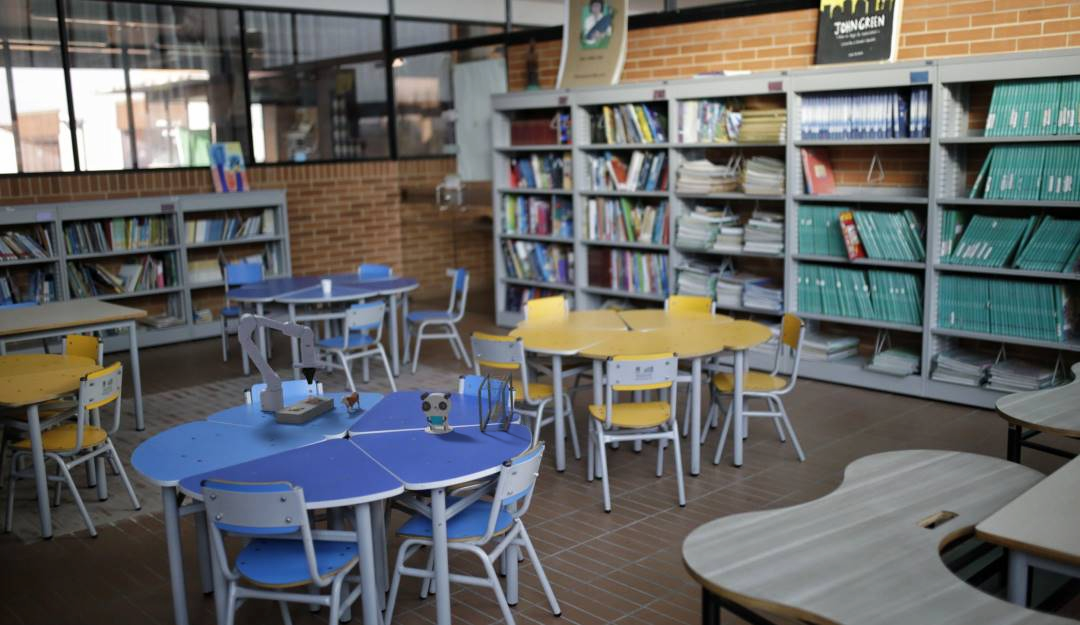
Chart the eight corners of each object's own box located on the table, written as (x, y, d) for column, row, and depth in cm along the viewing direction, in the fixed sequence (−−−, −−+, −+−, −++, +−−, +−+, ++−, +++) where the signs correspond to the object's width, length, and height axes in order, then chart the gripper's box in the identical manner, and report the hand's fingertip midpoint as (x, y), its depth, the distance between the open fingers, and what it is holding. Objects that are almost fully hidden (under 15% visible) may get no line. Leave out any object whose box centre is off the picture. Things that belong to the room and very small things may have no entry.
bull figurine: (339, 415, 409) (337, 396, 408) (354, 406, 422) (352, 388, 420) (348, 415, 408) (347, 397, 406) (363, 407, 420) (362, 389, 419)
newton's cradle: (506, 432, 377) (504, 388, 374) (479, 433, 378) (477, 389, 374) (513, 411, 406) (511, 370, 403) (489, 411, 407) (487, 370, 404)
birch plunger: (289, 417, 405) (288, 409, 404) (295, 414, 409) (294, 406, 408) (298, 418, 403) (297, 410, 402) (304, 415, 407) (303, 407, 407)
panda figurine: (418, 433, 379) (416, 396, 377) (428, 425, 390) (426, 389, 388) (447, 434, 377) (445, 397, 374) (457, 426, 387) (455, 390, 385)
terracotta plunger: (306, 407, 416) (306, 399, 416) (312, 404, 421) (311, 396, 420) (315, 407, 415) (314, 400, 414) (321, 405, 419) (320, 397, 418)
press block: (276, 421, 402) (275, 412, 401) (310, 405, 426) (310, 396, 425) (300, 423, 398) (300, 414, 397) (334, 406, 422) (333, 398, 421)
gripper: (288, 356, 420) (291, 386, 423) (319, 356, 418) (322, 386, 420) (295, 352, 427) (297, 382, 430) (326, 352, 425) (328, 382, 427)
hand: (310, 384), depth 425 cm, fingers closed
